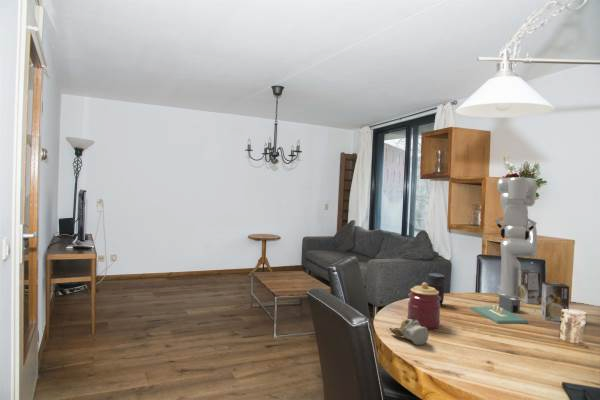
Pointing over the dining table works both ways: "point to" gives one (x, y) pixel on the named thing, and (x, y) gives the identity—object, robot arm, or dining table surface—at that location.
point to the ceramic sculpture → (412, 331)
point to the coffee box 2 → (554, 300)
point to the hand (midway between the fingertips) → (514, 238)
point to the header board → (499, 314)
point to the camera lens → (437, 284)
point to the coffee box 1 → (529, 286)
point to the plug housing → (509, 303)
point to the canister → (424, 306)
